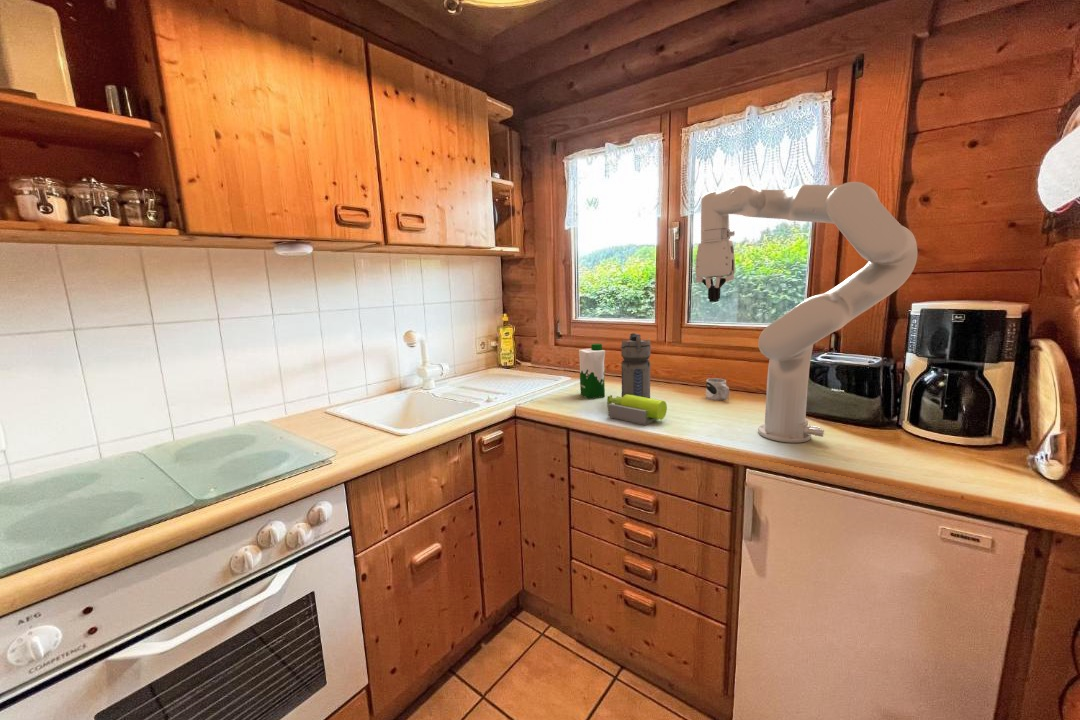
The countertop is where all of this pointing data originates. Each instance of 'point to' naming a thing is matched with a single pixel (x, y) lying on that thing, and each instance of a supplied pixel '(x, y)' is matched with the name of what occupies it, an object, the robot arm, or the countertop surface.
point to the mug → (716, 389)
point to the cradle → (629, 414)
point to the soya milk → (592, 372)
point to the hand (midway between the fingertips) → (714, 301)
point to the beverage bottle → (636, 366)
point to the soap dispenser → (641, 404)
